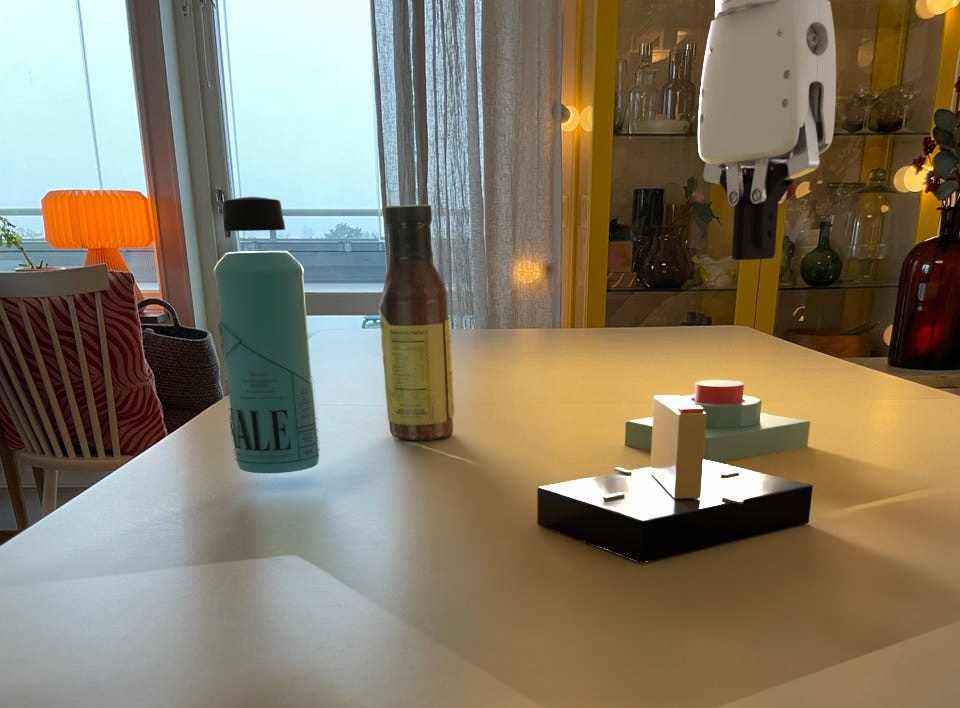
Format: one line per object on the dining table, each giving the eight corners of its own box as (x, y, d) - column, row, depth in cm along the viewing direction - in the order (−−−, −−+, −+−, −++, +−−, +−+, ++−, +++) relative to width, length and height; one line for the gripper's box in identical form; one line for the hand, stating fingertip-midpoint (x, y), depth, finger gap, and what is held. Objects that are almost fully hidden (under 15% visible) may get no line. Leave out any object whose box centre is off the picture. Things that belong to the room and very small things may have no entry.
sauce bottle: (416, 428, 95) (406, 206, 87) (468, 434, 91) (462, 204, 84) (372, 439, 90) (358, 205, 82) (425, 446, 87) (415, 202, 79)
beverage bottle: (315, 471, 78) (292, 198, 70) (330, 489, 72) (306, 194, 64) (233, 478, 76) (199, 199, 68) (241, 498, 70) (206, 195, 62)
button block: (722, 430, 91) (725, 386, 89) (807, 446, 83) (813, 399, 81) (624, 446, 85) (625, 399, 83) (706, 465, 77) (710, 414, 76)
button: (717, 399, 85) (719, 378, 84) (752, 404, 82) (754, 383, 81) (684, 403, 83) (685, 382, 82) (718, 409, 80) (720, 387, 79)
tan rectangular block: (650, 473, 64) (654, 391, 62) (674, 472, 64) (678, 391, 62) (674, 499, 57) (679, 409, 55) (701, 498, 57) (707, 408, 55)
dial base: (690, 491, 69) (692, 454, 68) (816, 525, 61) (821, 484, 60) (531, 523, 62) (531, 482, 61) (648, 567, 54) (650, 520, 53)
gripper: (890, -31, 67) (862, 255, 74) (729, 16, 78) (718, 258, 85) (817, -43, 63) (795, 259, 70) (660, 8, 75) (654, 262, 82)
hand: (753, 258), depth 78 cm, fingers closed
